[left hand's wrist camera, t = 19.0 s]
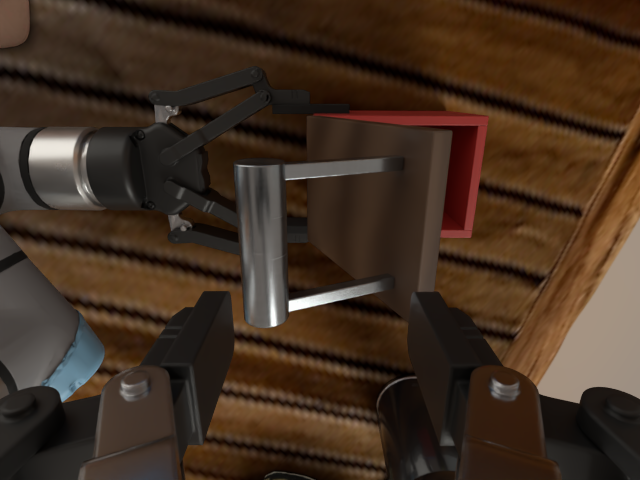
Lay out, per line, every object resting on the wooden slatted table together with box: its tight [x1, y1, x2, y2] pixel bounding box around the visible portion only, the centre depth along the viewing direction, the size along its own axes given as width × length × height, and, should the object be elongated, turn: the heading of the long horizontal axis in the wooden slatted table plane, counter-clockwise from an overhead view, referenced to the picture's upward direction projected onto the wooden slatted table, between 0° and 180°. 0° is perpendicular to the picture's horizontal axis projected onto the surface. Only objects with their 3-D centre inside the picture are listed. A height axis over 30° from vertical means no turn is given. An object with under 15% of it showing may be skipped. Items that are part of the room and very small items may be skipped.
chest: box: [313, 111, 489, 238], centre depth 37 cm, size 14×10×11 cm
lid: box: [233, 116, 453, 328], centre depth 24 cm, size 15×10×10 cm
